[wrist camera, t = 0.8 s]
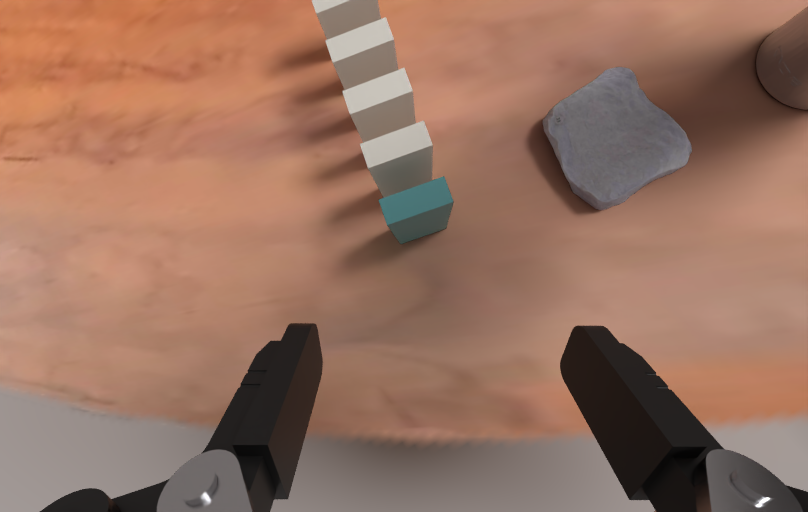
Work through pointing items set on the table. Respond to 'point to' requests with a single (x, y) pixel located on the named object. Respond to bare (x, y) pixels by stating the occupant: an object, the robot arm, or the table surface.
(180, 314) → the table surface
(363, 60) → the domino
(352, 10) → the domino
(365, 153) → the domino
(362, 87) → the domino
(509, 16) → the table surface
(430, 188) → the domino
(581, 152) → the stone block
